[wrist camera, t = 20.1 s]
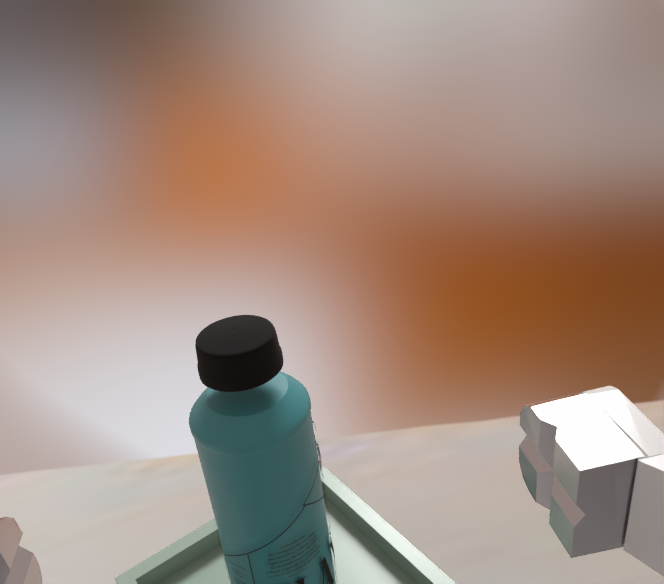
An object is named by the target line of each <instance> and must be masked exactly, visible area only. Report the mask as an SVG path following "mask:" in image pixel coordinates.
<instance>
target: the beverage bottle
mask: <svg viewBox="0 0 664 584" xmlns="http://www.w3.org/2000/svg"><path fill="white" fill-rule="evenodd" d="M196 352H197V359H198V372H199V376H200V379H201V381H202V383H203V384H204V385H205V386H207V387H208V388H207V389H206V390H205V391H204V392H203V393H202V394H201V396H200V397H199V398H198V399H197V401H196V402H195V403H194V405H193V407H192V409H191V412H190V417H189V425H190V429H191V433H192V435H193V437H194V439H195V443H196V447H197V450H198V454H199V458H200V462H201V466H202V469H203V473H204V477H205V481H206V485H207V489H208V492H209V496H210V500H211V504H212V508H213V511H214V515H215V519H216V523H217V527H218V530H219V536H220V541H221V545H222V549H223V553H224V557H225V560H224V561H226V564H225V565H227V568H226V569H228V572H227V573H229V576H228V577H230V580H229V581H231V584H336V582H335V574H336V572H335V574H334V567H333V560H332V553H331V549H332V551H333V554H334V548H333V544H332V539H331V537H330V539H331V541H330V539H329V535H330V536H331V532H330V534H329V532H328V529H329V528H328V527H331V526H330V524H329V526H328V525H327V518H326V511H325V507H326V506H328V505H326V506H325V504H326V503H325V504H324V501H326V500H324V499H325V498H324V496H325V495H324V496H323V493H324V491H323V490H322V487H323V484H322V483H321V479H322V478H321V476H320V470H322V468H321V466H322V464H321V461H319V462H320V465H319V462H318V454H319V453H318V454H317V450H319V447H317V448H316V441H315V435H314V430H313V424H312V423H313V421H312V418H311V411H310V409H311V402H310V397H309V394H308V392H307V390H306V388H305V387H304V386H303V384H301V383H300V382H299V381H298V380H296V379H294V378H293V377H292V376H290V375H287V374H285V373H283V372H281V371H280V370H281V368H282V366H283V355H282V350H281V347H280V346H279V342H278V338H277V334H276V330H275V328H274V326H273V324H272V323H271V322H270V321H268V320H267V319H265V318H262V317H259V316H254V315H239V316H232V317H229V318H225V319H222V320H219V321H216V322H214V323H212V324H210V325H209V326H207V327H206V328H204V329H203V330H202V331H201V332H200V333H199V335H198V336H197V339H196ZM317 445H318V444H317ZM319 452H320V450H319ZM319 456H320V459H321V455H320V454H319ZM319 466H320V469H319ZM322 473H323V472H322ZM322 477H323V478H324V476H323V475H322ZM323 483H324V482H323ZM323 488H324V487H323ZM324 489H325V488H324ZM325 494H326V492H325ZM326 509H328V508H327V507H326ZM329 521H330V519H329ZM329 523H330V522H329ZM329 530H330V529H329ZM216 531H217V530H216ZM217 535H218V533H217ZM218 538H219V537H218ZM220 541H219V542H220ZM221 545H220V546H221ZM222 549H221V550H222ZM223 553H222V554H223ZM224 557H223V558H224ZM334 557H335V555H334ZM334 563H335V559H334ZM335 564H336V563H335ZM336 570H337V569H336ZM336 578H337V576H336ZM336 580H337V582H338V579H336Z"/></svg>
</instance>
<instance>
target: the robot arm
mask: <svg viewBox="0 0 664 584" xmlns="http://www.w3.org/2000/svg"><path fill="white" fill-rule="evenodd" d="M520 426H521V427H522V429H523V430H524V432H525V433H526V434H527V436H526V437H525V439H524V440H523V441H522V443H521V444H520V445H519V462H520V466H521V471H522V475H523V478H524V481H525V483H526V485H527V488H528V490H529V492H530V493H531V495H532V496H533V498H534V500H535V501H536V502H537V503H539V504H541V505H542V506H544V507H546V508H548V509H550V522H549V524H550V525H551V527H552V529H553V530H554V532H555V533H556V535H557V536H558V538H559V540H560V541H561V543H562V544H563V546H564V547H565V549H566V551H567V552H568V554H569V555H570V557H571V558H573V557H578V556H582V555H587V554H592V553H597V552H601V551H606V550H611V549H615V548H620V547H624V549H623V550H625V551H626V552H628V553H629V554H631V555H632V556H634V557H635V558H637V559H638V560H640V561H641V562H643V563H644V564H646V565H647V566H649V567H650V568H652V569H653V570H655V571H656V572H658V573H659V574H661V575H662V576H664V434H663V433H662V432H661V431H660V430H659V429H658V428H657V427H656V426H655V425H654V424H653V423H652V422H651V421H650V420H649V419H648V418H647V417H646V416H645V415H644V414H643V413H642V412H641V411H640V410H639V409H638V408H637V407H636V406H635V405H634V404H633V403H632V402H631V401H629V400H628V399H627V398H626V397H625V396H624V395H623V394H622V393H621V392H620V391H619V390H618V389H617V388H614V387H612V386H607V387H602V388H598V389H593V390H589V391H585V392H582V393H580V394H573V395H569V396H565V397H560V398H555V399H551V400H547V401H542V402H538V403H533V404H529V405H524V406H523V408H522V411H521V415H520ZM22 534H23V533H22V531H21V529H20V528H19V526H18V524H17V523H16V521H15V519H14V518H9V517H3V518H0V584H42V576H41V571H40V567H39V564H38V562H37V560H36V558H35V556H34V554H33V553H32V552H30V551H28V550H26V549H24V548H22V547H20V546H19V543H20V540H21V537H22Z"/></svg>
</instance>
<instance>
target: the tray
mask: <svg viewBox="0 0 664 584" xmlns="http://www.w3.org/2000/svg"><path fill="white" fill-rule="evenodd" d="M319 465H320V463H319ZM321 468H322V470H320V476H321V478H322V479H321V483H322V484H323V487H324V488H325V489H324V488H323V487H322V490H323V491H324V493H323V496H324V495H325V496H324V498H325V499H324V500H326V501H324V504H325V503H326V504H325V506H326V505H328V506H326V507H327V508H328V509H326V507H325V511H326V518H327V525H328V526H329V524H330V526H331V527H328V528H329V529H330V530H329V529H328V532H329V534H330V532H331V536H330V535H329V539H330V537H331V539H332V544H333V548H334V554H333V551H332V549H331V553H332V560H333V567H334V574H335V572H336V574H335V582H336V584H456V583H455V582H454V581H453V580H452V579H450V578H449V577H448V576H447V575H446V574H445V573H444V572H443V571H441V570H440V569H439V568H438V567H437V566H436V565H435V564H434V563H432V562H431V561H430V560H429V559H428V558H427V557H426V556H424V555H423V554H422V553H421V552H420V551H419V550H418V549H417V548H415V547H414V546H413V545H412V544H411V543H410V542H409V541H408V540H406V539H405V538H404V537H403V536H402V535H401V534H400V533H398V532H397V531H396V530H395V529H394V528H393V527H392V526H391V525H389V524H388V523H387V522H386V521H385V520H384V519H383V518H382V517H380V516H379V515H378V514H377V513H376V512H375V511H374V510H372V509H371V508H370V507H369V506H368V505H367V504H366V503H365V502H363V501H362V500H361V499H360V498H359V497H358V496H357V495H356V494H354V493H353V492H352V491H351V490H350V489H349V488H348V487H346V486H345V485H344V484H343V483H342V482H341V481H340V480H339V479H337V478H336V477H335V476H334V475H333V474H332V473H331V472H330V471H328V470H327V469H326V468H325V467H324V466H323V465H322V466H321ZM319 469H320V466H319ZM322 472H323V473H322ZM322 475H323V476H324V478H323V477H322ZM323 482H324V483H323ZM325 492H326V494H325ZM329 519H330V521H329ZM329 522H330V523H329ZM216 530H217V531H216ZM217 533H218V535H217ZM218 537H219V538H218ZM331 539H330V541H331ZM219 541H220V536H219V530H218V527H217V523H216V519H215V518H214V519H213V520H211V521H209V522H208V523H206V524H204V525H203V526H201V527H199V528H198V529H196V530H194V531H193V532H191V533H189V534H188V535H186V536H184V537H183V538H181V539H179V540H178V541H176V542H174V543H173V544H171V545H169V546H168V547H166V548H164V549H163V550H161V551H159V552H158V553H156V554H154V555H153V556H151V557H149V558H148V559H146V560H144V561H143V562H141V563H139V564H138V565H136V566H134V567H133V568H131V569H129V570H128V571H126V572H124V573H123V574H121V575H119V576H118V577H116V578H115V580H116V582H117V584H231V581H229V580H230V577H228V576H229V573H227V572H228V569H226V568H227V565H225V564H226V561H224V560H225V557H224V553H223V549H222V545H221V541H220V542H219ZM220 545H221V546H220ZM221 549H222V550H221ZM222 553H223V554H222ZM334 555H335V557H334ZM223 557H224V558H223ZM334 559H335V563H336V564H335V563H334ZM336 569H337V570H336ZM336 576H337V578H336ZM336 579H338V582H337V580H336Z"/></svg>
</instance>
